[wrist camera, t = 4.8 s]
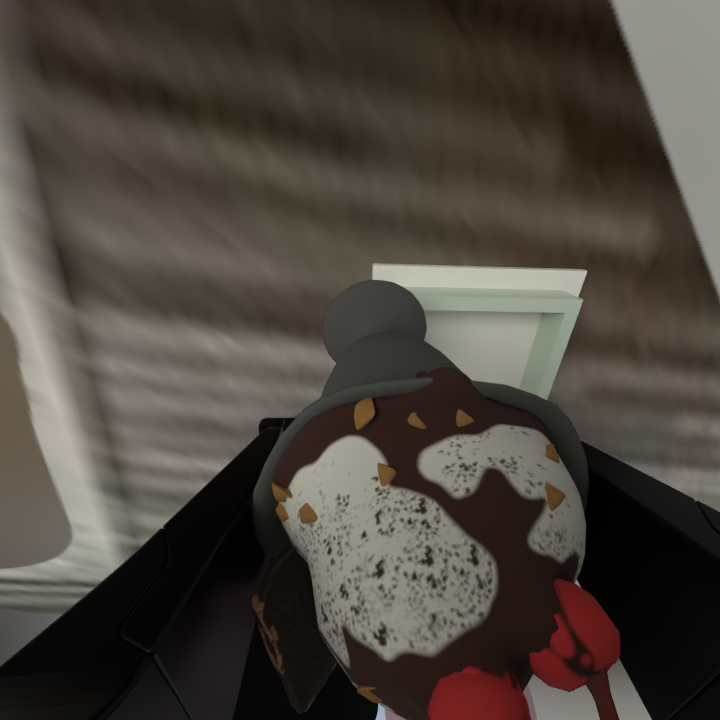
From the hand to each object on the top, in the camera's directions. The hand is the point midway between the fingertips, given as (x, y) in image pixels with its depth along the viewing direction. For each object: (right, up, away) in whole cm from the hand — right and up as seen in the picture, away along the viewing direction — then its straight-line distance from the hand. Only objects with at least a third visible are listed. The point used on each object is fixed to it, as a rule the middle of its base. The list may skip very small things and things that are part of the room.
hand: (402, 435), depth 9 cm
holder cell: (+6, +2, +14) cm, 15 cm away
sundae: (0, +4, +7) cm, 8 cm away
